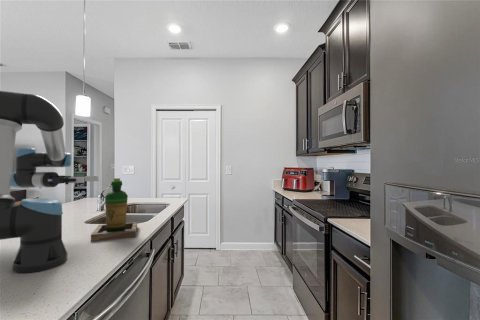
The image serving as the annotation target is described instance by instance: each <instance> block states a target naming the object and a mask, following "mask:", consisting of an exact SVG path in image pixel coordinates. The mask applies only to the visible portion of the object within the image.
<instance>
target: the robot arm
mask: <svg viewBox="0 0 480 320" xmlns="http://www.w3.org/2000/svg"><path fill="white" fill-rule="evenodd" d="M23 125H35V126H36V128H37V129H38V130H40V134H41V137H42V140H43V144H44V148H45V152H40V151H37V149H36V148H32V147H31V148H30V147H20V148H17V150H16V155H15V146H16V145H15V144H16V136H17V132H19V131H21V130H22V129H23ZM64 125H65V123H64V117H63V115H62V113H61V111H60V110H59V109H58V108H57V107H56V105H54V104H53V103H52V102H51V101H49V100H47V99H46V98H44V97H43V96H40V95H37V94H32V93H21V92H14V91H13V92H12V91H5V90H0V240H9V239H15V238H16V239H17V238H18V239H19V240H20V241H19V243H20V244H19V248H18V250H17V253H16V255H15V258H14V260H13V262H12V271H13V272H14V273H18V274H19V273H21V274H23V273H24V274H27V273H35V272H41V271H45V270H49V269H52V268H56V267H58V266H60V265H61V264H64V263H66V261H68V252H67V249H66V247H65V244H64V241H63V237H62V236H63V214H64V213H63V204H62V202H61V201H59V200H56V199H51V198H40V197H39V198H37V197H36V198H35V197H34V198H23V199H21V201H20V202H19V203H16V198H15V197H13V196H12V195H11V187H13V188H21V189H22V188H27V189H28V188H39V189H42V188H55V187H57V186H58V185H59V184H64V185H69V184H83V183H84V184H85V182H99V175H87V174H84V176H82V175H81V176H71V175H59V174H58V173H57V172H55V171H38V172H37V168H69V167H71V166H72V154H71V153H70V152H66V145H65V140H64V134H63V129H62V128H63V127H64ZM14 156H15V171H14V172H13V167H14V165H13V164H14Z"/></svg>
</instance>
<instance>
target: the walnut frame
mask: <svg viewBox="0 0 480 320" xmlns="http://www.w3.org/2000/svg"><path fill="white" fill-rule="evenodd" d="M137 230H138V221H133V222H126V226H125V231H117V232H107V227H106V223H104V224H98V225H97V227H96V228H95V229H94V230H93V232H92V233H90V242H97V241H108V240H117V239H119V240H120V239H129V238H131V239H132V238H136V236H137Z"/></svg>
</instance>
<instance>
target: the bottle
mask: <svg viewBox="0 0 480 320" xmlns="http://www.w3.org/2000/svg"><path fill="white" fill-rule="evenodd" d="M110 186H111V189H112V190H111V191H108V193H107V194H106V195H105V196H104V203H105V205H104V206H105V222H106V223H105V224H106V227H107V232H117V231H125V226H126V223H127V222H126V221H127V210H128V194H127V192H126V191H124V190H122V186H123V182H122V180H121V178H119V177H116V178H113V179H112V181H111V184H110Z"/></svg>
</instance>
